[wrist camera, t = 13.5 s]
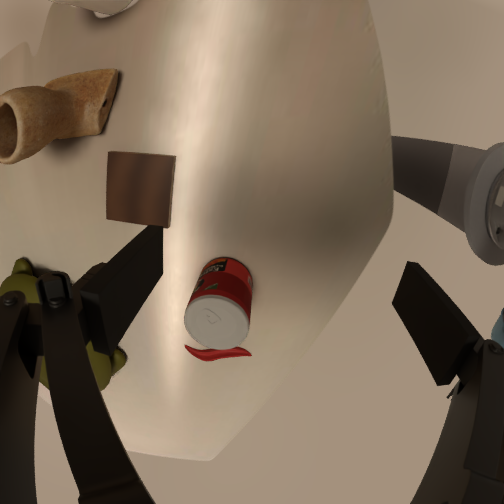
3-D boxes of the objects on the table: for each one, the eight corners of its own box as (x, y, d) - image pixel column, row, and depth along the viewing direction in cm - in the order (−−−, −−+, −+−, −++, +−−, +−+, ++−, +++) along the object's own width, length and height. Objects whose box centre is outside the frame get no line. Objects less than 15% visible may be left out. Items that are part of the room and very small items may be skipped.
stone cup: (41, 150, 35) (-25, 168, 21) (47, 80, 30) (-20, 78, 17) (115, 150, 35) (47, 167, 22) (124, 69, 31) (59, 50, 17)
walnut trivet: (176, 155, 36) (173, 156, 35) (170, 226, 40) (167, 228, 39) (111, 151, 36) (107, 151, 35) (109, 217, 40) (106, 219, 39)
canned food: (221, 245, 41) (207, 285, 31) (264, 278, 42) (263, 325, 32) (190, 281, 43) (171, 325, 33) (232, 310, 45) (223, 359, 35)
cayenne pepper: (183, 353, 49) (181, 360, 48) (185, 335, 48) (183, 342, 46) (247, 367, 50) (247, 374, 48) (253, 349, 48) (253, 357, 46)
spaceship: (84, 396, 60) (71, 423, 51) (1, 319, 52) (-19, 341, 43) (147, 343, 49) (129, 381, 40) (30, 230, 41) (-4, 252, 32)
